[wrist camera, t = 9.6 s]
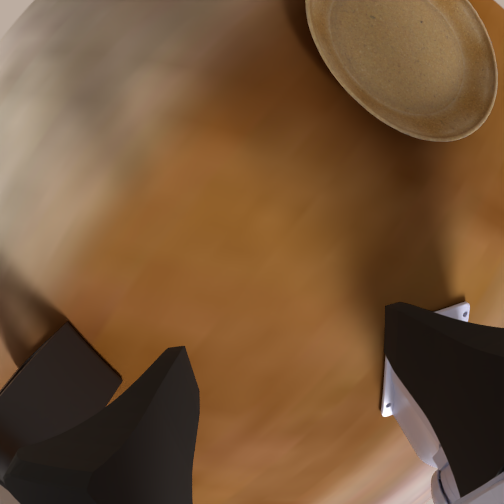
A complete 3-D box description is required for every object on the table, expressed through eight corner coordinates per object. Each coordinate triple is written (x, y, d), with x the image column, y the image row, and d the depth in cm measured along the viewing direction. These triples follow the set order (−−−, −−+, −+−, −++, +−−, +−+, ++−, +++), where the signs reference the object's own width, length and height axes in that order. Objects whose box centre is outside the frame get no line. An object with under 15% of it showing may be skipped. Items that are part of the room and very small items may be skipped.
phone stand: (64, 415, 22) (15, 513, 11) (18, 367, 21) (-52, 455, 9) (124, 378, 21) (73, 507, 10) (69, 319, 20) (-22, 429, 8)
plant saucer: (273, 99, 17) (280, 88, 15) (317, -62, 14) (326, -81, 11) (464, 173, 19) (486, 175, 17) (478, 18, 16) (496, 10, 13)
